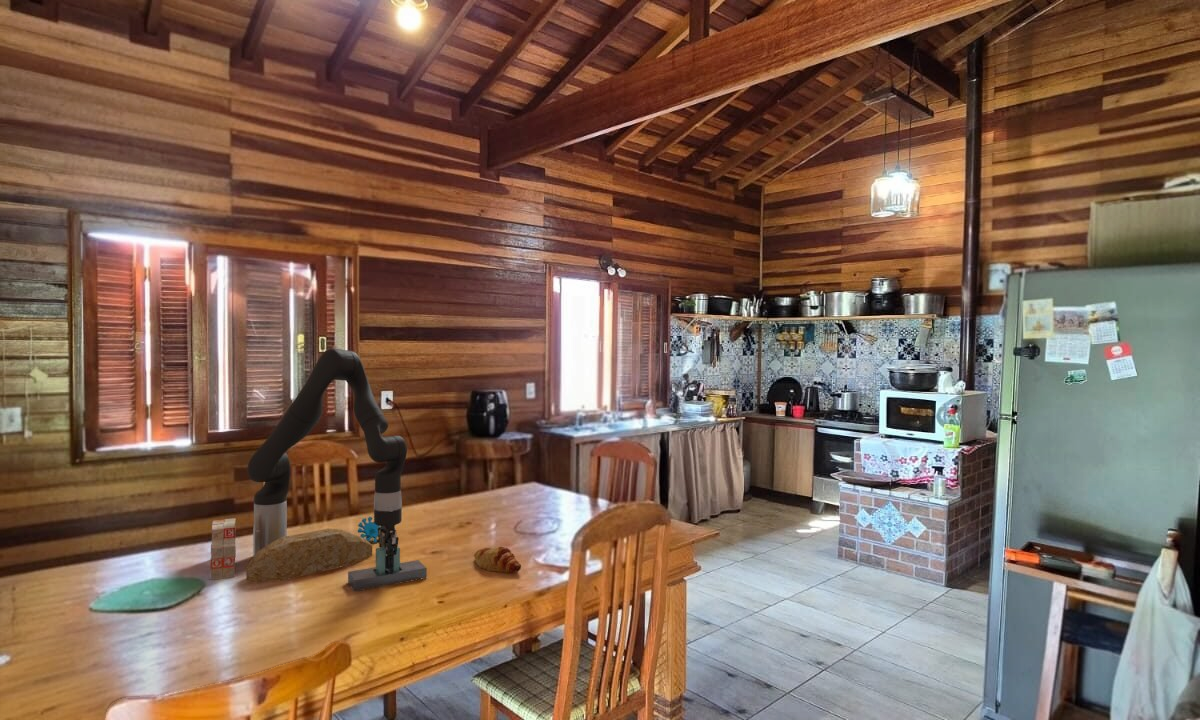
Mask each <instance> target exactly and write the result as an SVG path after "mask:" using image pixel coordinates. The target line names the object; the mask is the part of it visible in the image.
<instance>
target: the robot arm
mask: <svg viewBox="0 0 1200 720" xmlns="http://www.w3.org/2000/svg"><path fill="white" fill-rule="evenodd" d="M333 381H346V383H347V384H348V385H349V387H350V389H351V390H352V392H353V413H354V416H355V419H356V420H357V423H358V424H359V426H360V427H361V430H362V431H363V434H364V437H365V438H364V439H365V443H366V448H367V454H368V457H369V458H370V459H371V460H372V461H374V462H375V463H378V464H382V463H383V464H384V463H386V465H385V466H384V467H383V468H382V469H380V470H378V471H377V472H376V473H375V475H374V496H373V497H374V499H373V522H374V524H376V525H378V526H380V527H378V537H377V538H378V548H380V547H384V548H385V568H386V569H392V568H393V567H394V555H396V554H397V547H398V545H399V536H397V529H396V526H397V525H398V524H401V522H402V517H403V516H402V515H403V514H402V510H403V509H402V508H403V505H402V504H403V503H402V500H403V499H402V489H401V488H402V486H401V485H402V482H401V481H402V473H403V469H404V465H405V462H406V459H407V458H406V457H407V454H408V453H407V452H408V446H407V443H406V441H405V439H404V438H403V437H402V436H400V435H391V436H384V437H383V434H384V433H385V432H386V431H388V429H389V423H388V421H387V419H386V417H385V415H384V413H383V411H382V409H381V408H380V406H379V404H378V402H377V401H376V398H375V396H374V394H373V391H372V388H371V385H370V382H369V380H368V376H367V374H366V370H365V367H364V365H363V362H362V360H361V358H360V356H359V355H358V353H356V352H354V351H352V350H349V349H342V348H341V349H339V348H329V349H326V350H325V351H324V352H322V354H321V355H320V356H319V358H318V359H317V362H316V363H315V365H314V368H313V369H312V371H311V373H310V375H309V377H308V378H307V380H306V382H305V384H304V385H303V387H302V388H301V389H300V391H299V393H298V394H297V396H296V397H295V398H294V400H293V401H292V402H291V404H290V405H289V407H288V408H287V409H286V411H285V412H284V414H283V416H282V418H280V420H279V421H278V424H276V426H275V428H273V430H272V432H271V433H270V434H269V436H268V437H267V438H266V440H264V442H263V443H262V444H261V446H260V447H259V448H258V449H257V450H256V451H255V452H254V453H253V455H252V456H251V457H250V459H249V461H248V463H247V469H246V470H247V476H248V478H249V479H250V480H251V481H252V482H256V483H264V484H263V486H262V487H261V488H260V489H259V490H258V491H257V492H255V494H254V495H253V527H252V528H253V530H252V531H253V532H252V534H253V535H252V536H253V537H252V538H253V543H252V546H253V550H252V551H253V553H252V554H253V555H252V557H253V556H254V555H255V554H256V553H257V552H258V551H259V550H261V549H263V548H264V547H266V546H267V545H269V544H271V543H272V542H274V541H276V540H277V539H279V538H281V537H286V536H288V535H287V534H288V533H287V531H288V529H287V528H288V522H287V518H288V517H287V514H288V513H287V510H288V508H287V505H288V503H287V497H288V493H289V491H290V483H291V482H290V480H291V461H290V457H289V456H288V454H287V453H286V452H287V451H289V450H290V449H291V448H292V447H293V446H295V445H296V444H297V443H300V442H301V441H302V440H303V439H304V438H305V437H306V436H308V435H309V434H310V432H311V431H312V430H313V429H314V428H315V426H316V425H317V423H318V422H319V421H320V419H321V417H322V415H323V408H324V407H323V405H324V404H323V397H324V394H325V392H326V390H327V389H328V387H329V385H330V384H331V383H332V382H333ZM391 549H392V551H390V550H391Z"/></svg>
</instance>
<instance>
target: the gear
mask: <svg viewBox="0 0 1200 720" xmlns="http://www.w3.org/2000/svg"><path fill="white" fill-rule="evenodd" d="M367 520H368V521H367ZM372 520H373V516H368V518H362V519H361V522H358V523H359V524H358V525H357V526H358V527H359V528H358V530H357V533H359V534H360V533H361V534H360V535H359V536H360V537H362V538H364V539H366V540H367V541H368V542H369V543H370V541H371V539H372V544H376V543H378V539H377V538H379V537H378V527H381V526H378V525H376V524H374V521H372ZM363 524H364V525H363Z"/></svg>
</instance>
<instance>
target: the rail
mask: <svg viewBox="0 0 1200 720" xmlns="http://www.w3.org/2000/svg"><path fill="white" fill-rule="evenodd" d="M427 569H428V568H427V566H426V565H424V564H423V563H422V562H421V561H420V560H419V559H416V560H411V561H405V562H400V567H399V571H395V572H391V569H385V573H384V574H378V575H377V574H376V566H374V567H369V568H364V569H363V568H362V569H356V570H352V571H350V570H349V571H348V572H347V573H348V574H347V583H348V584H349V586H350V587H351V589H352V590H353V591H354V592H359V591H364V590H363V589H365V590H369V589H375V588H380V586H381V587H385V586H386V585H387V586H392V585H396V583H398V584H401V583H400V582H403V583H407V582H406V581H409V582H412V581H411V580H414V581H417V580H416V579H420V580H422V579H421V578H425V579H427V578H426V577H427V576H428V575H427ZM358 590H359V591H358Z"/></svg>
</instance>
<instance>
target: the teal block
mask: <svg viewBox="0 0 1200 720" xmlns="http://www.w3.org/2000/svg"><path fill="white" fill-rule="evenodd" d="M390 551H392V549H391V550H390ZM400 563H401V547H400V546H398V547H397V554H396V555H394V567H393V568H392V569H391V572H395V571H399V567H400ZM375 567H376V574H377V575H378V574H384V573H385V569H386V568H385V548H384V547H376V548H375Z"/></svg>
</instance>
